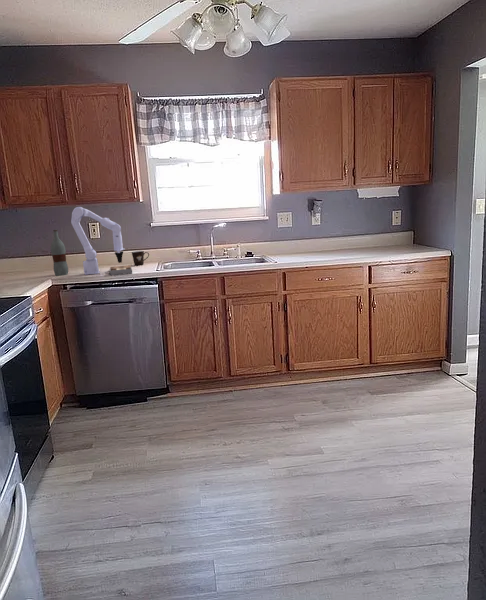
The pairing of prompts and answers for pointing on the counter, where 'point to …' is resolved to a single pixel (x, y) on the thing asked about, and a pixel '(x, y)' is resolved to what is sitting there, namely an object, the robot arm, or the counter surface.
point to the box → (120, 272)
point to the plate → (120, 267)
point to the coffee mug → (139, 257)
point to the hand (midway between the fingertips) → (120, 262)
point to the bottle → (59, 256)
